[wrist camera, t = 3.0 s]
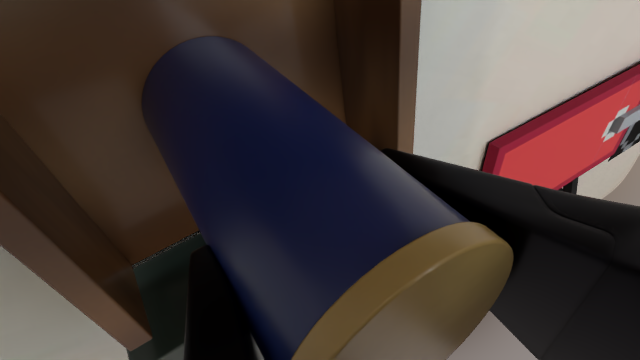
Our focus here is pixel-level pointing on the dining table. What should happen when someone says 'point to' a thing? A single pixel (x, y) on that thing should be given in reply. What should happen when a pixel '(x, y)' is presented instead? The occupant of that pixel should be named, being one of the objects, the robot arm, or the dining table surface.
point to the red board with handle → (571, 136)
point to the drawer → (138, 144)
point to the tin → (315, 216)
